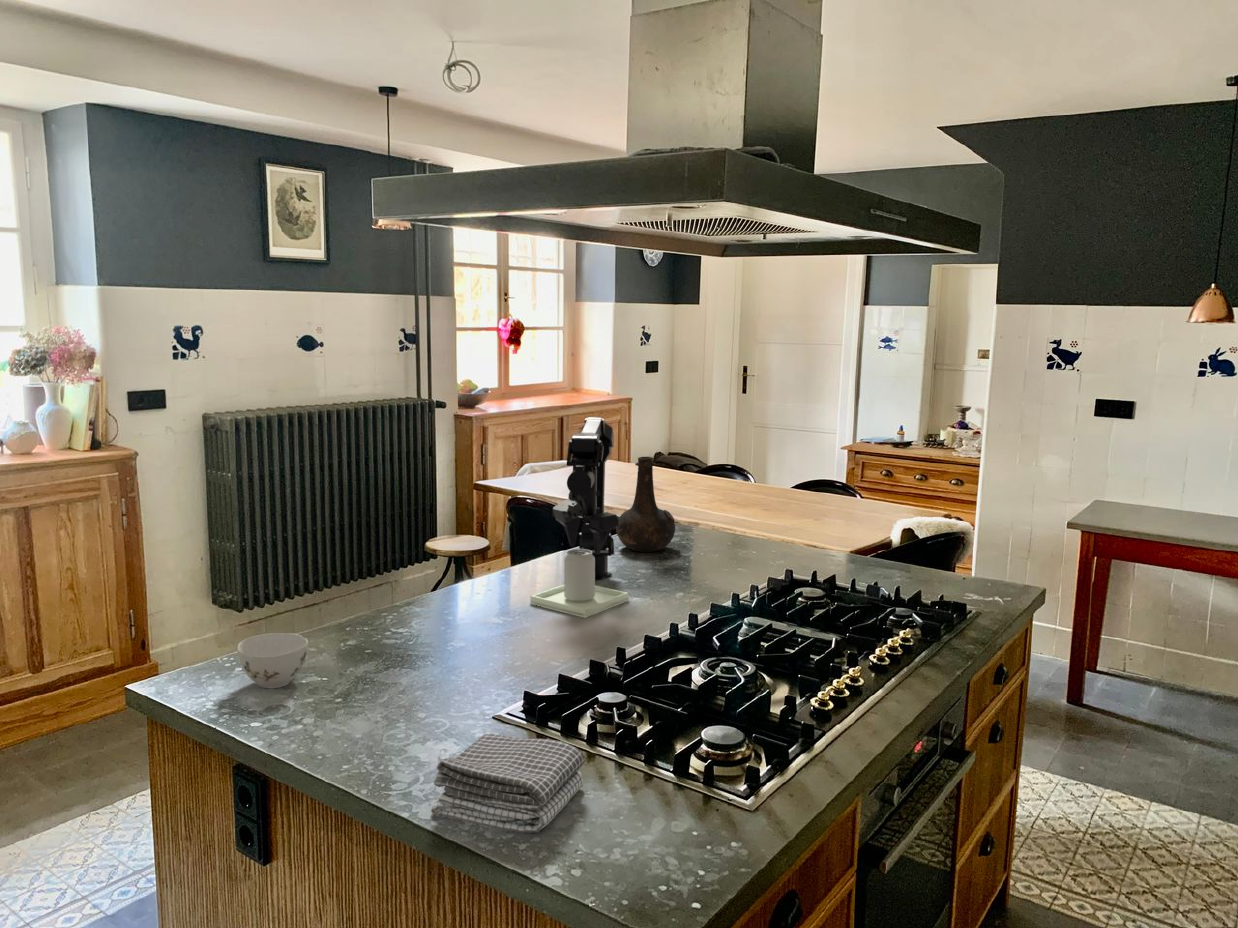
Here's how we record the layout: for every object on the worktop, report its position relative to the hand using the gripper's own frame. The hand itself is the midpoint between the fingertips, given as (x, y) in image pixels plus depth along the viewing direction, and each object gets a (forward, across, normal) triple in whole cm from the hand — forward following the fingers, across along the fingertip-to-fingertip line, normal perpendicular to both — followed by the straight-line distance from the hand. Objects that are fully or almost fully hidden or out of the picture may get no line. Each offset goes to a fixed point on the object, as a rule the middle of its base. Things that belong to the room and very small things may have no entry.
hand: (584, 550), depth 227 cm
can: (+12, 0, -2) cm, 12 cm away
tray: (+13, 0, -2) cm, 13 cm away
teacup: (+13, 0, -77) cm, 78 cm away
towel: (+13, +65, -70) cm, 97 cm away
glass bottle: (+13, -28, +48) cm, 57 cm away
